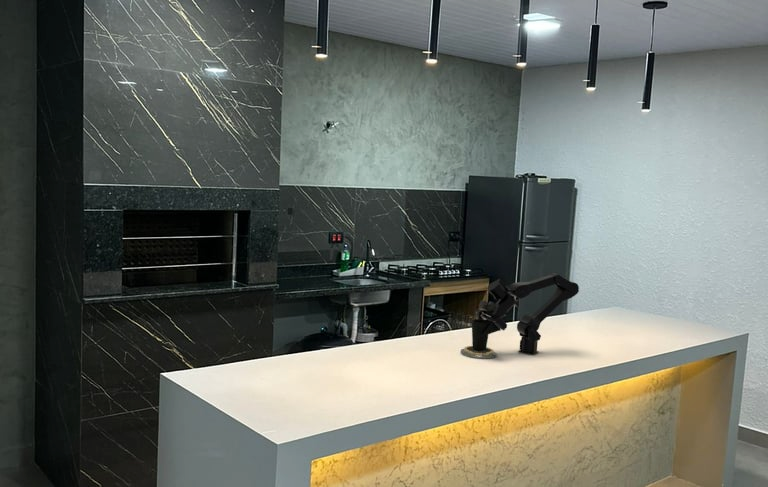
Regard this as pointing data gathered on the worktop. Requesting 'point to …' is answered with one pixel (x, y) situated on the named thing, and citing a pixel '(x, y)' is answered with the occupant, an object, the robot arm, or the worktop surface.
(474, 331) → the cup
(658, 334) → the worktop surface
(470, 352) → the flange plate
